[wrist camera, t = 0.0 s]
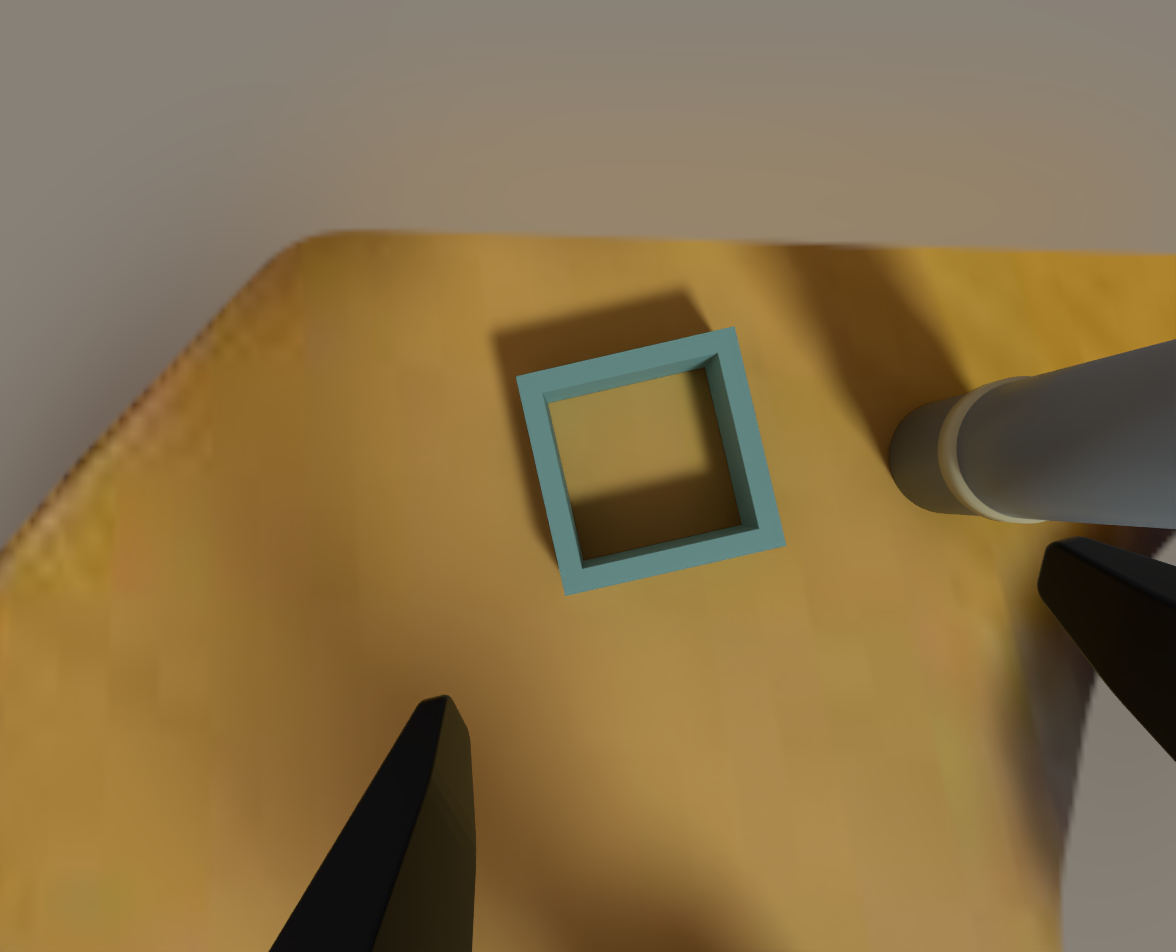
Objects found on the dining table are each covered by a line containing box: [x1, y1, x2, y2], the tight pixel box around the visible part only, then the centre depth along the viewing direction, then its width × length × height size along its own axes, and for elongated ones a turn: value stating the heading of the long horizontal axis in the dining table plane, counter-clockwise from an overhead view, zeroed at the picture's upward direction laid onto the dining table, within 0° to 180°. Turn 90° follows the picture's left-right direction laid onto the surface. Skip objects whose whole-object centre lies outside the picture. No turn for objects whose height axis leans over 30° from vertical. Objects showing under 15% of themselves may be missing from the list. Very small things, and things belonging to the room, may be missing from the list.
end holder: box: [516, 326, 786, 596], centre depth 22 cm, size 8×8×2 cm
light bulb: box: [889, 339, 1176, 529], centre depth 17 cm, size 5×5×12 cm
